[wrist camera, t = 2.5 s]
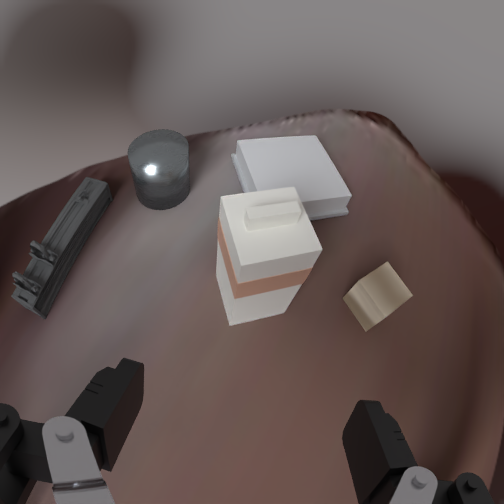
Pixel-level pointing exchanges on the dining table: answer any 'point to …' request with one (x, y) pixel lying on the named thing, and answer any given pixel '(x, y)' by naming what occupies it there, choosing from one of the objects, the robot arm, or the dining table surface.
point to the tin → (160, 168)
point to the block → (376, 296)
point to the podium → (293, 172)
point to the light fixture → (61, 247)
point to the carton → (263, 252)
